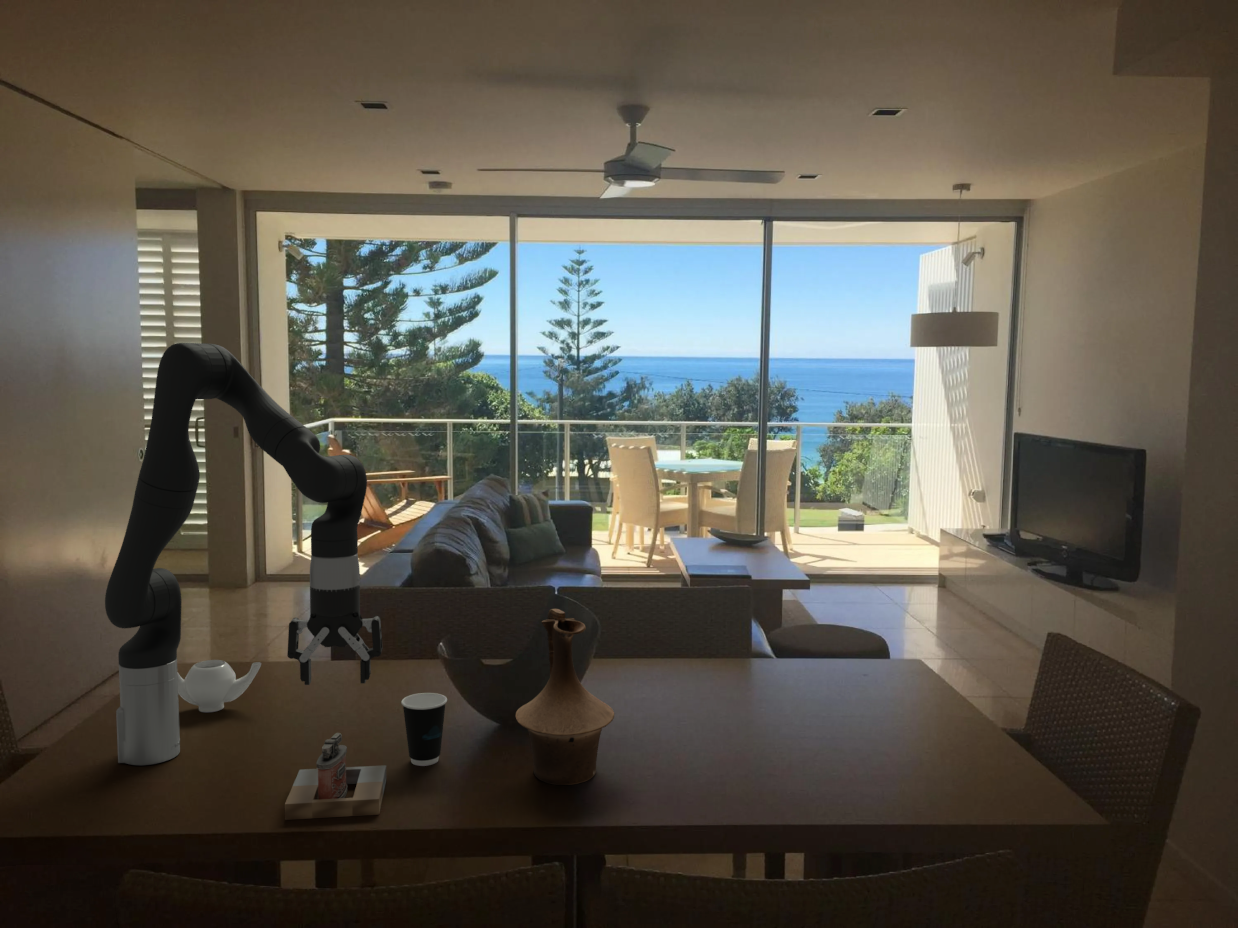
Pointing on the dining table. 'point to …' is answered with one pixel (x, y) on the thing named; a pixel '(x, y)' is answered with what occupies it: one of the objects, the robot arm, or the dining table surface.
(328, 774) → the lighter
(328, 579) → the robot arm
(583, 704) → the pitcher
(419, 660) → the dining table surface
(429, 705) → the dixie cup
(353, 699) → the dining table surface
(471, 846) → the dining table surface
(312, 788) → the tan flat square frame
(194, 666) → the teapot
